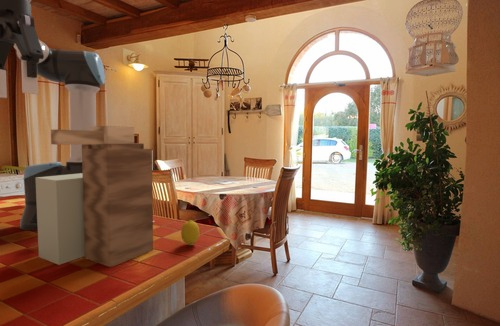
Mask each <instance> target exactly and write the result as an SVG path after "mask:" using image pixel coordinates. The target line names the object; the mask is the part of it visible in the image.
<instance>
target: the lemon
mask: <svg viewBox="0 0 500 326" xmlns="http://www.w3.org/2000/svg"><path fill="white" fill-rule="evenodd" d="M180 234H181V235H180V236H181V239H182V241H183V242H184V243H185V244H188V246H192V245H193V244H194V243H196V242H197V241H198V239H199V237H200V227H199V225H198V223H197V222H196V221H194V220H192V219H189V220H188V221H185V223H183V225H182V227H181V231H180Z"/></svg>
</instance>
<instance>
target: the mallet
mask: <svg viewBox="0 0 500 326" xmlns="http://www.w3.org/2000/svg"><path fill="white" fill-rule="evenodd" d="M50 142H51V143H50V144H51V145H55V146H56V145H58V146H61V145H63V146H65V145H67V146H68V145H70V146H71V145H78V144H92V149H101V144H134V143H135V126H120V125H119V126H117V125H96V126H91V131H88V130H70V129H50Z"/></svg>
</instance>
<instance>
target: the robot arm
mask: <svg viewBox="0 0 500 326" xmlns="http://www.w3.org/2000/svg"><path fill="white" fill-rule="evenodd" d="M31 2H32V0H0V98H2V99H7V98H8V90H7V89H8V87H7V72H8V70H7V68H6V66H5V65H6V62H7V60H8V57H9V53H10V51H11V48H14V49H15V50H16V56H17V58H18V59H19V60H20V66H21V68H20V69H21V90H22V91H21V92H22V93H23V94H31V95H39V85H38V84H39V83H38V76H40V77H42V78H43V79H45V80H48V81H50V82H54V83H64V88H66V89H67V90H68V91H69V92H68V93H69V124H70V126H69V127H70V128H69V130H88V131H91V126H97V97H96V96H97V93H98V92H99V91H100V90H101V86H102V85H105V84H106V74H105V68H104V64H103V62H102V58H101V57H100V56H99V54H98V53H96V52H93V51H86V50H73V49H72V50H71V49H56V48H51V47H49V46H48V45H47V44H46V43H45V42H43V41H42V40H40V39H39V37H38V34H37V30H36V28H35V27H36V26H35V20H34V17H32V4H31ZM65 161H66V163H65V165H63V163H62V162H61V161H53V162H46V163H38V164H37V163H36V164H31V165H28V166H26V167H25V168H24V170H23V187H24V189H23V191H24V210H23V213H22V215H21V217H20V221H19V228H20V229H21V230H24V231H38V225H37V201H36V177H47V176H58V175H68V174H79V173H82V144H78V145H70V157H69V158H68V159H67V160H65Z"/></svg>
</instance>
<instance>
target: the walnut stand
mask: <svg viewBox="0 0 500 326" xmlns="http://www.w3.org/2000/svg"><path fill="white" fill-rule="evenodd" d="M144 146H145V145H144V143H135V142H134V144H101V149H92V144H82V174H83V207H84V241H85V256H84V259H86V260H88V259H89V261H91V262H94V263H97V264H100V265H104V266H106V267H108V268H112V267H115V266H117V265H120V264H122V263H125V262H128V261H129V260H133V259H135V258H137V257H139V256H142V255H145V254H148V253H149V252H152V251H154V222H153V221H154V216H153V215H154V214H153V211H154V208H153V205H154V203H153V202H154V201H153V199H154V197H153V148H147V147H146V148H144Z"/></svg>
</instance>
